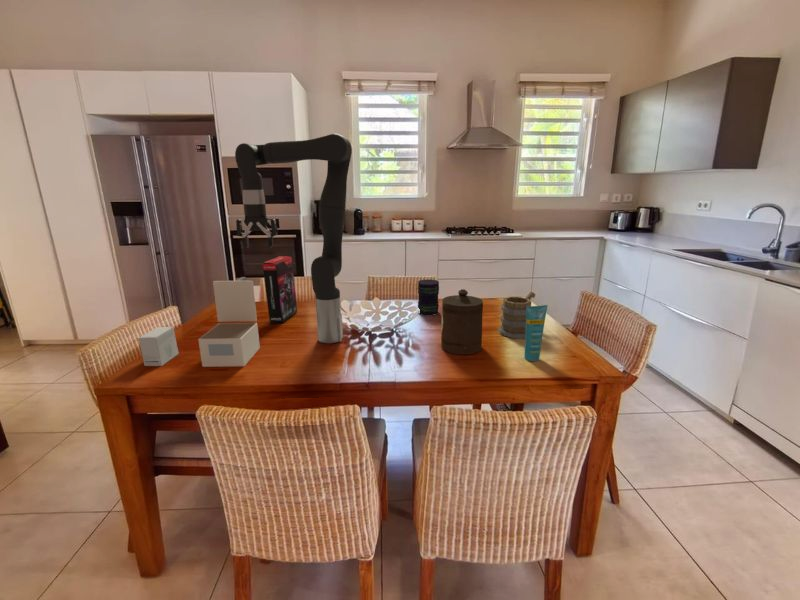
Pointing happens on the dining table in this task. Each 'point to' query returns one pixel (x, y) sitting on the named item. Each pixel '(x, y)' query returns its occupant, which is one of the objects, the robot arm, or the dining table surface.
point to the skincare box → (158, 346)
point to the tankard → (514, 316)
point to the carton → (229, 344)
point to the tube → (534, 331)
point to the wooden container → (461, 324)
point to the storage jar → (428, 296)
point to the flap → (235, 300)
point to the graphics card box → (280, 288)
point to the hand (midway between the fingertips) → (258, 247)
